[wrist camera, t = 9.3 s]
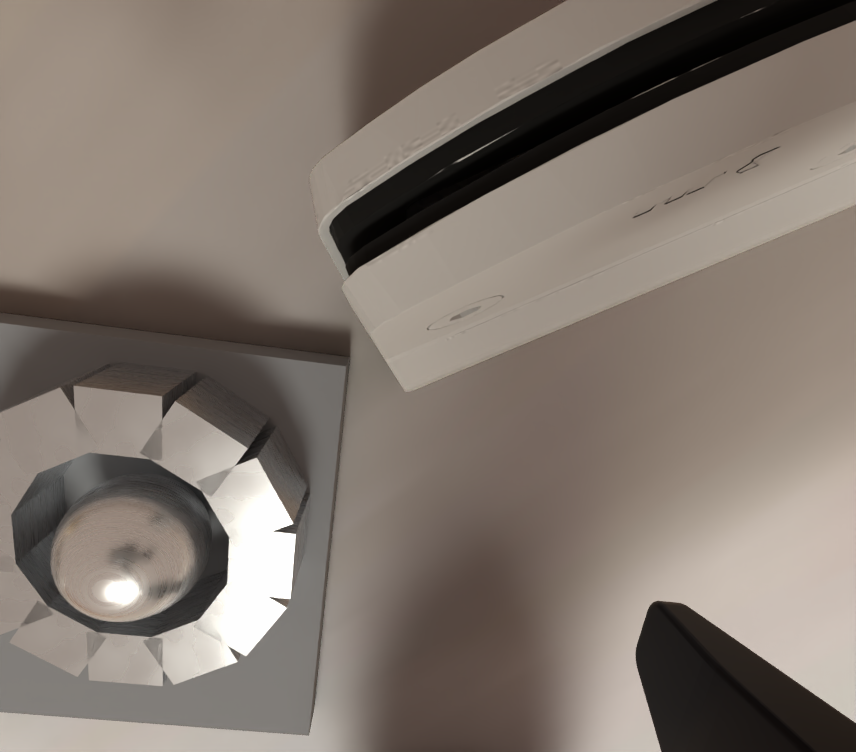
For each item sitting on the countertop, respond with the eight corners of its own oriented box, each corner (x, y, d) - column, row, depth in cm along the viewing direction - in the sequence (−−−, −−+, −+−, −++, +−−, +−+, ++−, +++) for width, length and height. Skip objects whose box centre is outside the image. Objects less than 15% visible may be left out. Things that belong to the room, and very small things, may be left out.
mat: (313, 709, 23) (309, 735, 22) (-205, 668, 22) (-240, 693, 20) (349, 357, 19) (346, 366, 17) (-303, 274, 17) (-354, 278, 16)
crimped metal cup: (297, 639, 20) (282, 696, 18) (16, 615, 20) (-38, 670, 17) (319, 386, 18) (305, 413, 15) (-10, 345, 17) (-79, 367, 14)
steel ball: (223, 562, 20) (190, 657, 15) (93, 559, 19) (21, 657, 15) (227, 454, 18) (193, 524, 14) (89, 445, 18) (10, 518, 13)
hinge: (400, 396, 19) (311, 403, 9) (351, 275, 19) (212, 155, 9) (860, 203, 18) (1351, -39, 8) (799, 76, 18) (1196, -315, 8)
